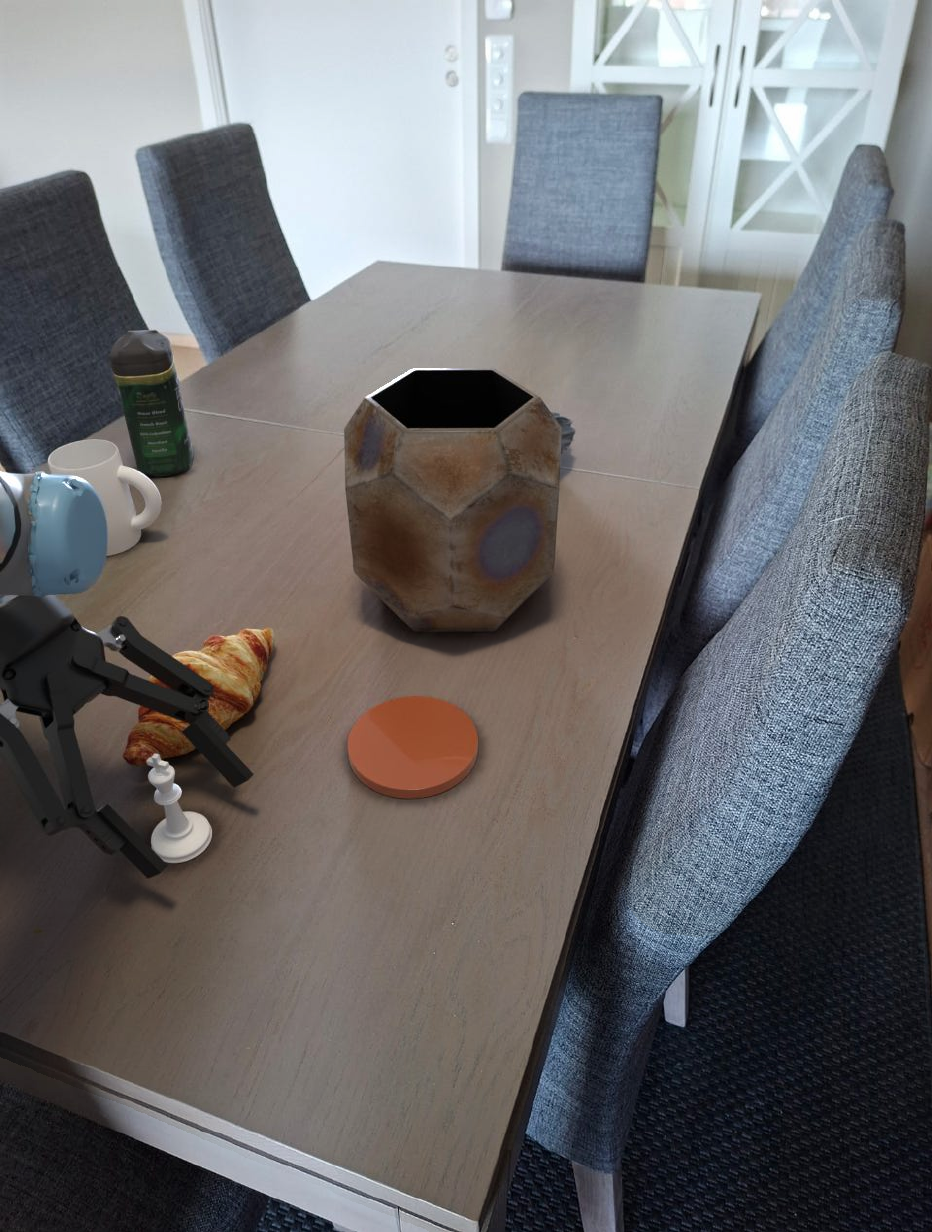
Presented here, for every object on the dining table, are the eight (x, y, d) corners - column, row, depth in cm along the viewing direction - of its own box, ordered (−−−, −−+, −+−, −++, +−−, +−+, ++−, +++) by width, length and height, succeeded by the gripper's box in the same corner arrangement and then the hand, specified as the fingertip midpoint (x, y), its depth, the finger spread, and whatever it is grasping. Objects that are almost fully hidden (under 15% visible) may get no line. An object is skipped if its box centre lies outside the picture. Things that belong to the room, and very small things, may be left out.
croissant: (255, 662, 96) (216, 602, 94) (319, 649, 91) (280, 585, 88) (121, 795, 81) (69, 728, 78) (189, 789, 75) (136, 716, 72)
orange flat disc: (342, 800, 76) (341, 790, 76) (354, 705, 86) (353, 696, 85) (479, 798, 76) (479, 788, 76) (476, 703, 86) (476, 694, 85)
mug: (160, 559, 107) (137, 471, 100) (64, 558, 107) (34, 470, 100) (180, 523, 114) (159, 439, 106) (89, 522, 114) (63, 438, 107)
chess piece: (173, 810, 76) (146, 727, 70) (223, 824, 74) (200, 741, 68) (139, 854, 72) (108, 771, 66) (191, 870, 71) (164, 786, 65)
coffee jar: (193, 476, 124) (164, 347, 113) (135, 481, 123) (100, 352, 112) (197, 445, 132) (171, 322, 120) (143, 450, 130) (111, 326, 119)
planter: (348, 659, 92) (324, 454, 77) (370, 535, 111) (354, 352, 96) (559, 659, 91) (574, 453, 77) (544, 535, 111) (555, 351, 96)
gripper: (95, 560, 76) (267, 746, 80) (-146, 719, 61) (81, 941, 65) (125, 522, 71) (307, 723, 75) (-130, 685, 56) (116, 928, 59)
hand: (203, 824), depth 70 cm, fingers open, 9 cm apart
